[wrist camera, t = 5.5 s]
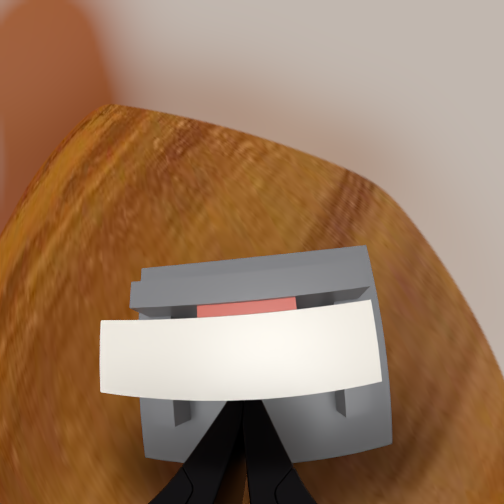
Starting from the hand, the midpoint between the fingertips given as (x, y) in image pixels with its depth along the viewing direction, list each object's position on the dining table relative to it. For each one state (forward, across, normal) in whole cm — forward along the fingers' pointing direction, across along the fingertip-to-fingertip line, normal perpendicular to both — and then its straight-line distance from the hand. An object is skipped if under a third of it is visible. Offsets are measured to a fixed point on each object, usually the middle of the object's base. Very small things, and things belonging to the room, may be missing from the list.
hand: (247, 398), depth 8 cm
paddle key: (+5, 0, +3) cm, 5 cm away
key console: (+6, 0, +4) cm, 7 cm away
